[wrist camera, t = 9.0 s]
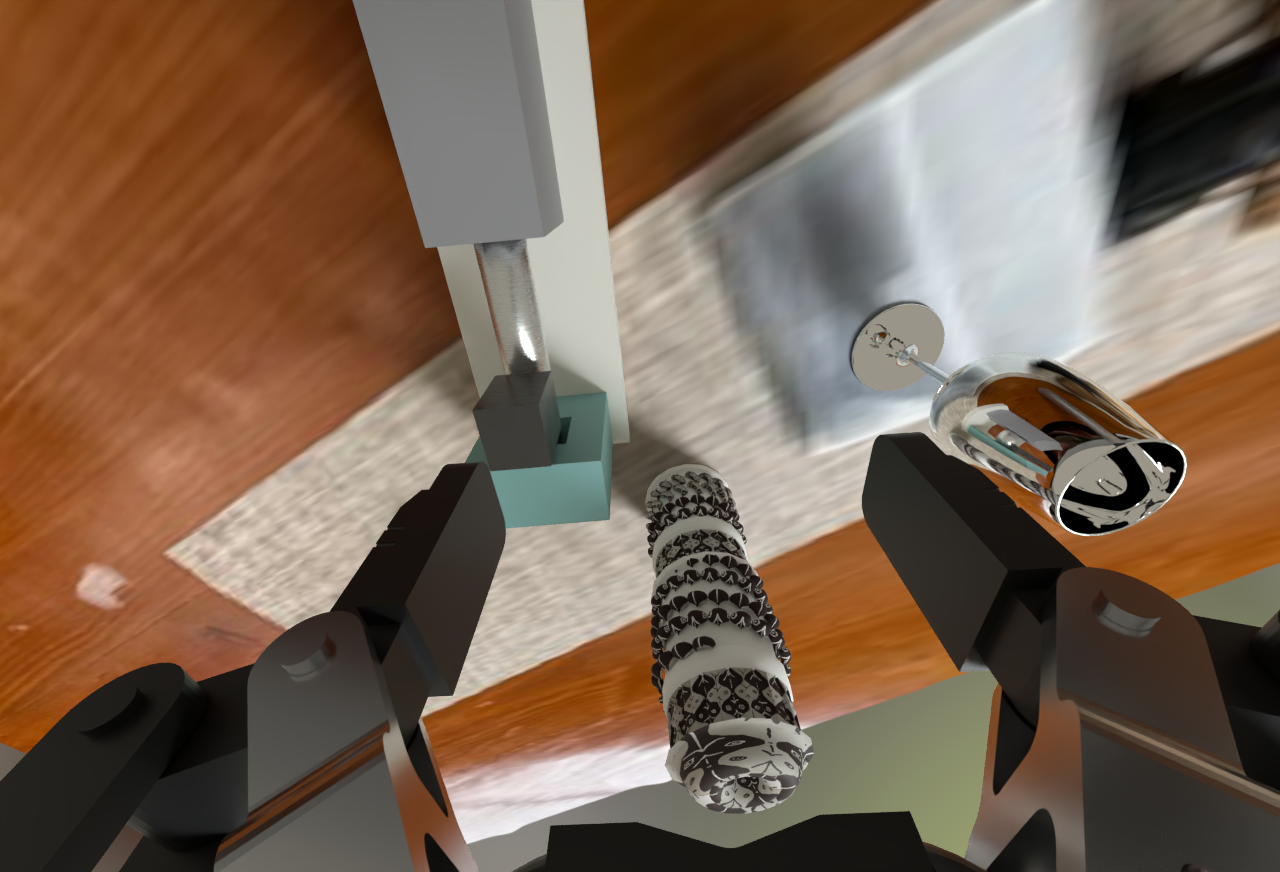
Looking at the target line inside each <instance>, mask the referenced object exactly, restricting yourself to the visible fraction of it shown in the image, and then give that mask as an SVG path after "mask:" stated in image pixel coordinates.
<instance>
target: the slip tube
mask: <svg viewBox="0 0 1280 872" xmlns="http://www.w3.org/2000/svg"><path fill="white" fill-rule="evenodd" d="M473 245H474V250H475V254H476V258H477V262H478V266H479V270H480V274H481V278H482V282H483V286H484V291H485V295H486V299H487V303H488V307H489V311H490V315H491V319H492V323H493V327H494V332H495V336H496V340H497V344H498V348H499V352H500V356H501V360H502V364H503V368H504V373H505V375H496V376H495V377H494V378H493V380H492V381H491V383H490V384H489V386H488V387H487V389H486V390H485V392H484V394H483V395H482V397H481V398H480V400H479V401H478V403H477V404H476V406H475V408H474V409H473V414H474V417H475V420H476V424H477V427H478V431H479V434H480V437H481V441H482V444H483V448H484V451H485V455H486V458H487V461H488V465H489V468H490V471H501V470H513V469H525V468H536V467H548V466H552V462H553V458H554V454H555V450H556V446H557V445H558V444H565V441H564V436H563V431H562V425H561V420H560V415H559V409H558V404H557V399H556V393H555V388H554V383H553V378H552V372H551V367H550V362H549V357H548V351H547V346H546V341H545V336H544V330H543V325H542V320H541V315H540V309H539V304H538V299H537V293H536V288H535V283H534V278H533V272H532V267H531V262H530V256H529V251H528V246H527V241H526V239H518V240H508V241H497V242H486V243H475V244H473Z"/></svg>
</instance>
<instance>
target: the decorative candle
mask: <svg viewBox="0 0 1280 872" xmlns="http://www.w3.org/2000/svg"><path fill="white" fill-rule="evenodd" d="M731 497H732V492H731V491H730V489H729V488H728V484H727V482H726V481H725V480H724V478H723V477H722V476H721V475H720V474H719V473H718V472H717V471H715V470H713V469H711V468H709V467H707V466H704V465H697V464H683V465H679V466H675V467H671V468H669V469H667V470H666V471H664V472H663V473H661V474H660V475H658V476H657V477H655V479H654V480H653V482H652V483H651V485H650V486H649V488H648V489H647V496H646V502H645V504H646V507H647V510H648V513H646V518H647V519H651V520H652V523H648V524H647V525H646V528H647V529H648V532H649V533H650V535H649V536H648V538H647V540H648V543H649V545H650V546H651V547H650V548H649V549H648V554H649V555H650V557H652V560H653V569H654V572H655V574H656V580H655V581H654V586H653V591H652V599H651V604H652V606H653V607H652V613H653V615H654V617H653V618H652V620H651V625H652V629H651V635H652V637H653V638H654V639H653V640H652V643H651V646H652V649H653V657H654V659H655V660H656V661H658V662H656V663H655V664H654V665H653V666H652V669H651V672H652V675H653V676H652V678H651V681H652V684H653V685H654V686H655V687H656V688H658V691H659V693H660V694H661V695H662V696H661V697H660V698H659V700H658V701H660V703H663V707H664V711H663V712H665V714H666V717H667V719H668V729H669V741H670V750H669V752H668V756H667V760H666V763H665V766H666V768H667V770H668V772H669V774H670V776H671V778H672V779H673V780H675V781H676V782H678V783H680V784H681V785H683V786H684V787H686V789H687V790H688V792H689V793H690V795H691V796H692V798H693V799H694V800H695V801H696V802H698V803H700V804H701V805H703V806H705V807H706V808H708V809H710V810H714V811H718V812H723V813H742V814H743V813H750V812H756V811H762V810H764V809H767V808H770V807H773V806H775V805H778V804H780V803H781V802H783V801H784V800H786V799H787V798H788V797H790V796H791V795H792V794H793V792H794V790H795V789H796V787H797V785H798V783H799V781H800V779H801V774H802V771H803V770H804V769H805V768H806V766H807V765H808V763H809V761H810V759H811V757H812V756H813V748H812V742H811V739H810V738H809V737H808V736H807V735H806V734H804V733H803V732H802V731H801V729H800V726H799V722H798V718H797V714H796V711H795V708H794V706H793V704H792V702H793V696H792V691H791V686H790V683H789V680H788V677H789V676H790V673H791V669H790V666H789V665H788V663H789V662H790V660H791V654H790V651H789V650H788V649H787V648H786V647H784V645H785V641H784V636H783V634H782V632H781V631H780V630H779V629H777V628H778V626H779V621H778V619H777V618H776V617H775V616H774V615H773V609H772V607H771V606H770V605H769V604H768V603H767V601H768V598H767V594H766V592H765V591H764V590H763V589H761V588H762V586H763V581H762V579H761V578H760V577H759V576H758V573H757V572H756V571H755V570H754V569H753V568H752V566H751V565H750V564H749V563H748V558H747V553H746V549H745V543H746V537H745V536H744V535H743V534H741V533H742V532H743V526H742V525H741V524H740V523H739V522H737V521H738V520H739V514H738V512H737V510H736V509H735V506H736V504H735V501H734V500H733V499H732V498H731ZM661 624H662V627H661ZM771 630H772V631H771ZM771 642H772V643H771ZM772 644H773V645H772ZM662 648H664V652H663V651H662ZM780 658H781V661H782V662H780V661H779V659H780ZM663 668H664V669H665V672H666V675H665V679H664V682H663V679H662V671H663Z"/></svg>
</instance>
